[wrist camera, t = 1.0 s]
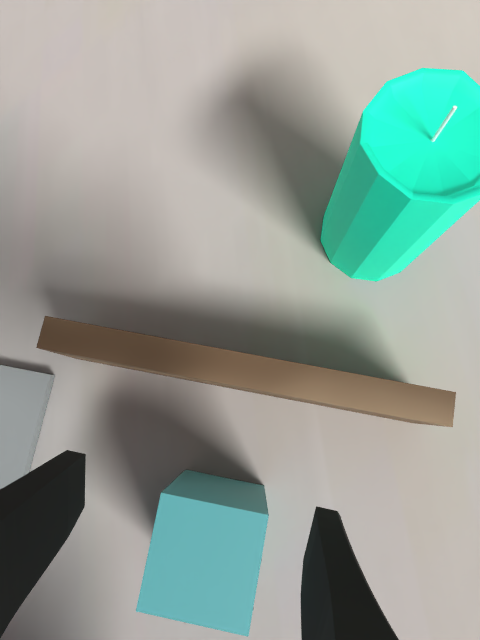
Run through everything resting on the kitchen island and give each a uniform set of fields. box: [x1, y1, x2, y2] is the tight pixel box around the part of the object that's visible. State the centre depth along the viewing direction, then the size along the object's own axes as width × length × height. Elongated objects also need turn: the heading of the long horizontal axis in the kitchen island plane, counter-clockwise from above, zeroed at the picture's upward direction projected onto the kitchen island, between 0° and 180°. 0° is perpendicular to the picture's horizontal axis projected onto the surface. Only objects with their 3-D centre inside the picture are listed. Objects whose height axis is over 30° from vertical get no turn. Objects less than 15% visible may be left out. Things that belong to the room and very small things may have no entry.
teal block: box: [136, 470, 269, 636], centre depth 21 cm, size 4×4×7 cm
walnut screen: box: [36, 316, 456, 427], centre depth 24 cm, size 2×20×5 cm, turn 79°
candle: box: [320, 68, 480, 281], centre depth 22 cm, size 6×6×12 cm
